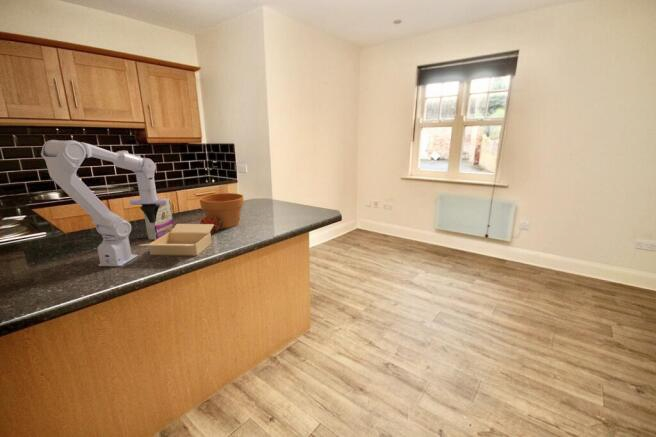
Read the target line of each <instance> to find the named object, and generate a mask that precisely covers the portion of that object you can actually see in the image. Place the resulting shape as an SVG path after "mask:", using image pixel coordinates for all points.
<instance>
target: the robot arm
mask: <svg viewBox="0 0 656 437" xmlns="http://www.w3.org/2000/svg"><path fill="white" fill-rule="evenodd" d="M40 155H41V156H40V157H42V158H43V160H44V161H45V164H46V167H47V171H48V174H49V177H50V179H52V181H53V182H54V183H55V184H56V185H58V187H60V189H62V190H63V192H65V193H66V194H67V195H68V196H69V197H70V198H71V200H72V201H74V202H75V203H76V204H77V205H78V206H79V207H81V209H82V210H83V211H84V212H85V213H87V215H88V216H89V217H91V219H92V222H91V223H92V224H93V225H94V226H95V229H96V231H97V233H99V234H100V235H101V237H102V239H103V240H102V242H101V243H100V244H98V246H97V254H98V259H99V264H98V266H99V267H122V266H124V265H125V264H127V263H128V262H130V261H131V260H133V259H135V258H137V257H138V254H132V251H131V245H130V240H129V237H130V234H131V232H132V224H131V223H130V222H129V220H125V219H123V218H122V217H121V216H119V215H118V214H117V213H114V212H113V211H111V210H110V209H109V208H108V207H107V205H105V204H104V203H103V202H102V201H101V200H100V199H99V198H98V197H97V195H95V193H94V192H93V191H92V190H91V189H90V188H89V186H87V185H86V184H85V182H84V181H82V179H81V178H80V177H79V176H77V171H78V170H79V168H80V166H81V165H82V163H83V161H85V158H86V159H88V158H96V159H100V160H103V161H107V162H111V163H113V165H114V166H115V167H116V168H121V169H124V170H129V171H132V172H133V173H135V177H136V183H137V187H138V188H137V189H138V194H139V198H136V199H135V198H134V199H129V205H130V206H135V205H137V206H140V207H139V208H140V210H141V211H142V212H143V214H144V213H145V215H146V216H147V218H148V220H149V222H150V223H154V222H156V216H157V212H158V209H159V207H160V205H169V200H164V199H165V198H158V195H157V189H156V182H155V171H156V169H157V164H155V162H154V161H153V160H152V159H151V158H148V157H141V155H140V154H132V153H129V151H128V150H124V149H123V150H118V151H116V152H114V151H111V150H107V149H104V148H102V147H99V146H95V145H94V144H90V143H86V142H82V141H81V142H80V141H77V140H57V139H50V140H47V141H45V143H44V144H43V146H42V148H41V152H40Z"/></svg>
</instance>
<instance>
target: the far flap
mask: <svg viewBox="0 0 656 437" xmlns="http://www.w3.org/2000/svg"><path fill="white" fill-rule="evenodd" d="M213 226H214V224H200V223H176V224H175V226H174V228H173V230H172V231H171V233H211V232H210V231H211V229H212V227H213Z"/></svg>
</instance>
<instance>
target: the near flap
mask: <svg viewBox="0 0 656 437" xmlns="http://www.w3.org/2000/svg"><path fill="white" fill-rule="evenodd" d="M139 246H140V247H143V246H144V247H149V246H194V244H150V243H145V244H142V243H141V244H139Z"/></svg>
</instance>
